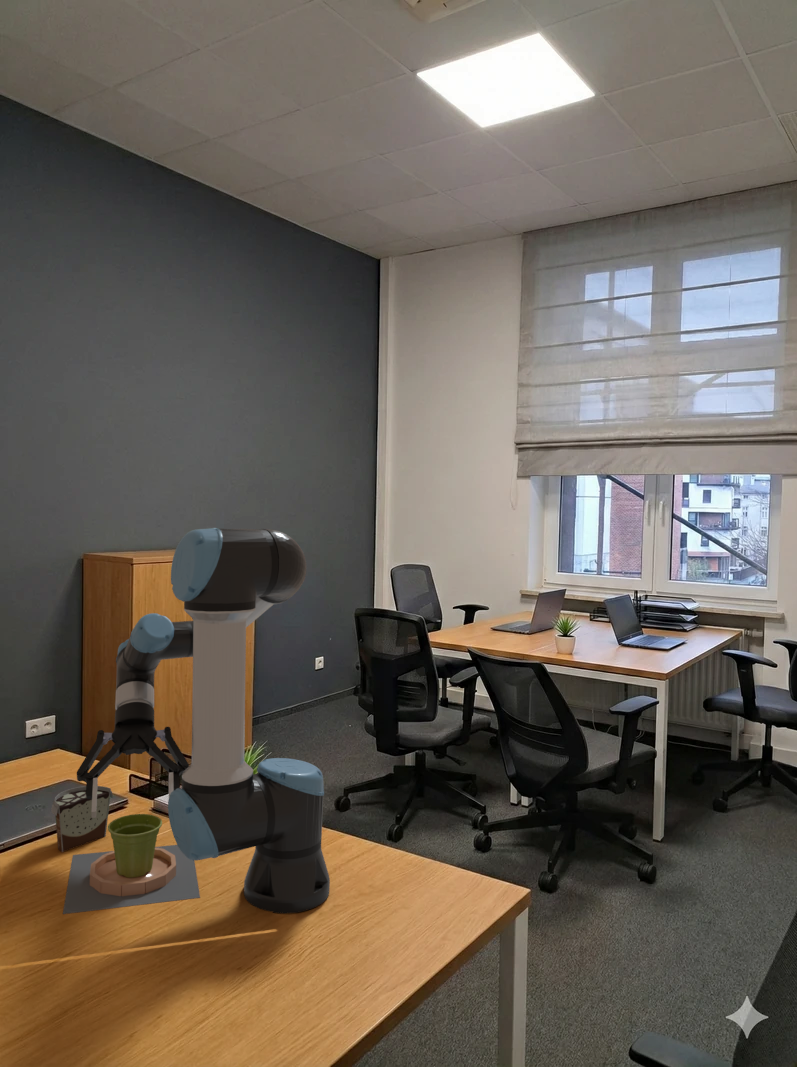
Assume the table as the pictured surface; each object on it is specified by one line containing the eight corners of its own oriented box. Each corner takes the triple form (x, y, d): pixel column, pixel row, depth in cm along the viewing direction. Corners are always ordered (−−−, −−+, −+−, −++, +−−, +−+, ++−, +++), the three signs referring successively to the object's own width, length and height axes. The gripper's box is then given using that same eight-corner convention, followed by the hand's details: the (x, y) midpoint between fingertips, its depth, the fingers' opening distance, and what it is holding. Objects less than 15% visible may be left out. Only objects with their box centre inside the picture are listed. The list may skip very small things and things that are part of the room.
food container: (94, 827, 164) (95, 780, 163) (111, 836, 160) (113, 787, 159) (37, 847, 154) (38, 797, 153) (55, 856, 150) (56, 805, 149)
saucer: (173, 853, 152) (173, 843, 152) (177, 889, 139) (177, 878, 138) (92, 861, 148) (92, 851, 148) (87, 900, 134) (88, 888, 134)
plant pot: (108, 886, 137) (109, 837, 137) (105, 863, 146) (106, 817, 145) (163, 878, 141) (165, 830, 140) (157, 855, 149) (158, 810, 149)
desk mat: (191, 845, 157) (191, 843, 157) (200, 899, 136) (200, 897, 136) (72, 857, 150) (72, 854, 150) (62, 916, 129) (62, 913, 129)
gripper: (196, 715, 165) (200, 813, 152) (68, 722, 157) (60, 826, 144) (199, 697, 160) (204, 796, 147) (67, 702, 152) (59, 808, 139)
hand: (133, 811), depth 145 cm, fingers open, 13 cm apart
